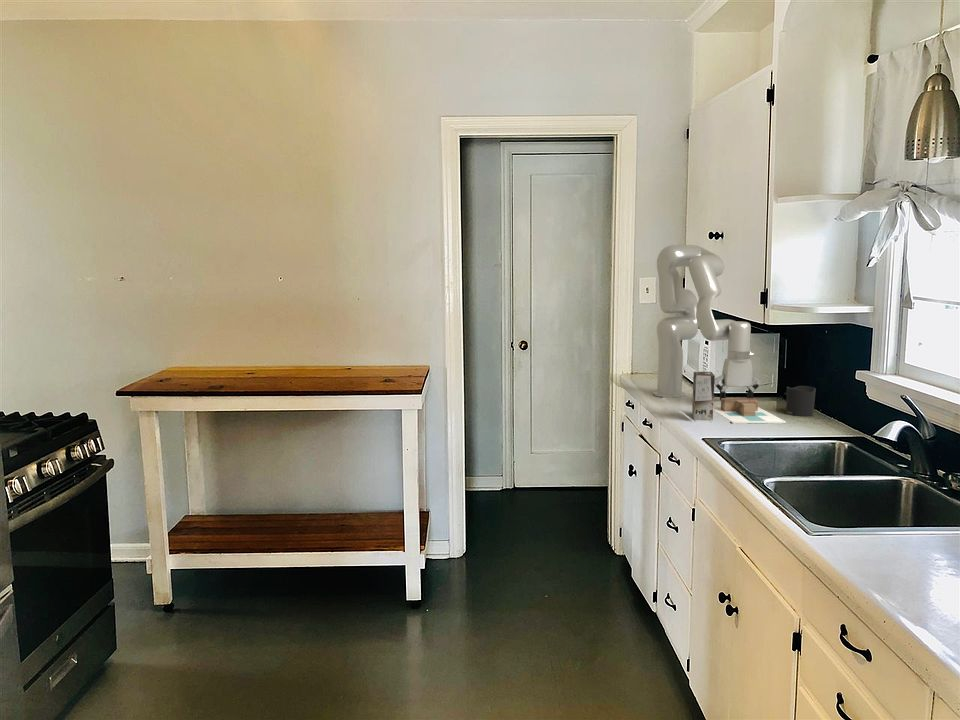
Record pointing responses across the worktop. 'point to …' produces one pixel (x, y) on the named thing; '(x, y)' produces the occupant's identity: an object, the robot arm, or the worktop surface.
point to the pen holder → (800, 401)
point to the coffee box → (703, 396)
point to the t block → (740, 405)
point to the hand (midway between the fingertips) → (736, 402)
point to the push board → (737, 418)
